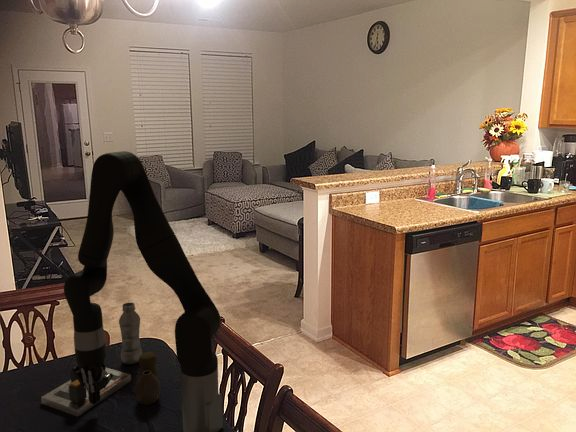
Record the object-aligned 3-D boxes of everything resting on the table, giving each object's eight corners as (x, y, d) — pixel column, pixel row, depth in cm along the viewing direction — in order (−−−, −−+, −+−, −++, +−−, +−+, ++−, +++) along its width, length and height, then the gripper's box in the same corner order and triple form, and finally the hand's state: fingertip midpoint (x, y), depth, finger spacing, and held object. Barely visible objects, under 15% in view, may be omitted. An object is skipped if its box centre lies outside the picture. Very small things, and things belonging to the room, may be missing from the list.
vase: (135, 409, 132) (133, 380, 130) (136, 395, 138) (134, 368, 136) (161, 405, 133) (159, 377, 132) (160, 392, 140) (159, 364, 138)
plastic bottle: (120, 359, 159) (116, 302, 155) (141, 355, 162) (137, 299, 158) (122, 368, 153) (118, 309, 149) (144, 364, 156) (140, 306, 152)
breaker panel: (131, 380, 146) (129, 361, 145) (77, 416, 128) (75, 394, 127) (97, 370, 152) (95, 351, 151) (41, 403, 134) (39, 382, 133)
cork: (154, 395, 138) (152, 360, 136) (134, 393, 140) (132, 358, 137) (163, 384, 144) (161, 350, 142) (145, 382, 145) (143, 348, 143)
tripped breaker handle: (86, 397, 133) (85, 381, 132) (77, 403, 131) (76, 386, 130) (78, 394, 134) (77, 378, 133) (70, 400, 132) (68, 383, 131)
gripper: (119, 342, 127) (123, 401, 130) (83, 332, 132) (87, 389, 136) (97, 354, 120) (102, 416, 124) (60, 343, 126) (65, 403, 129)
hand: (94, 402), depth 130 cm, fingers closed
